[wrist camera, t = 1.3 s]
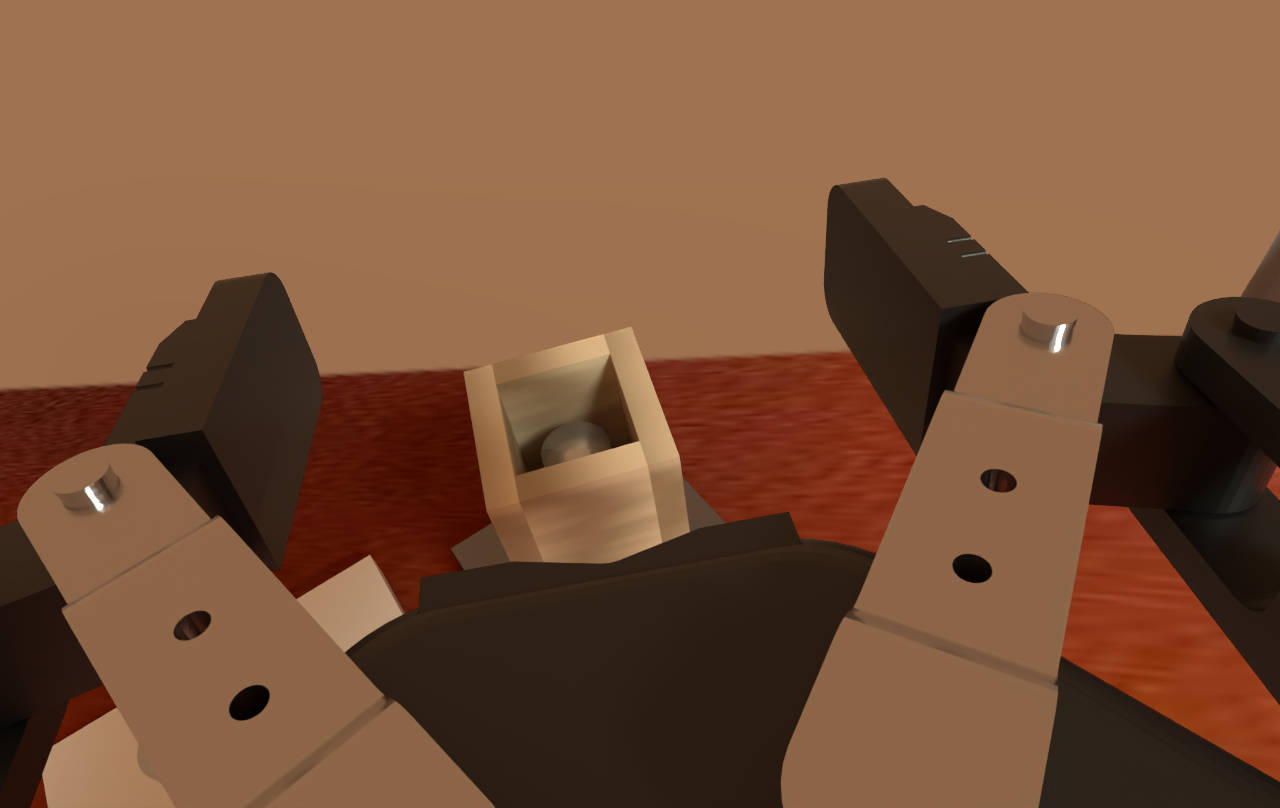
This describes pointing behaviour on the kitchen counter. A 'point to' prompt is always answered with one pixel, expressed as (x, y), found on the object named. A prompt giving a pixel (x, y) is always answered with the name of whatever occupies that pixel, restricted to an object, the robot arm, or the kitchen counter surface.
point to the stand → (555, 450)
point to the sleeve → (584, 487)
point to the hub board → (110, 755)
